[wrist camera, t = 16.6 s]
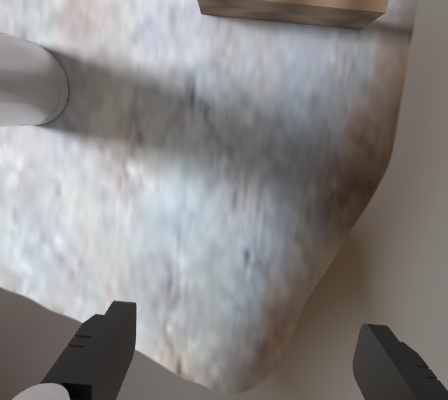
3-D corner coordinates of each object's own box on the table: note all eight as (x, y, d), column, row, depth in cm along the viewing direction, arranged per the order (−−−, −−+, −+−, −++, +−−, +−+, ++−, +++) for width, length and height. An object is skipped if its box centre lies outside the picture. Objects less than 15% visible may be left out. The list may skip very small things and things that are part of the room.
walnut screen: (201, 13, 36) (195, -6, 30) (202, 1, 35) (196, -21, 29) (360, 29, 36) (385, 12, 30) (362, 17, 35) (388, -2, 30)
